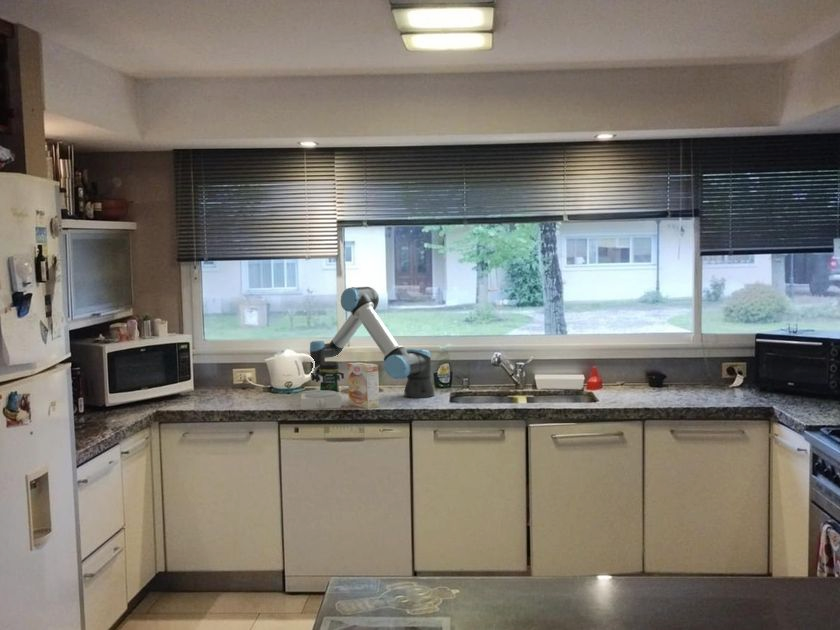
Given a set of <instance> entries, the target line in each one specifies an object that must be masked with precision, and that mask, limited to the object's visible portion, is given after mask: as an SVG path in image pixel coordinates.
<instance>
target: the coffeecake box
mask: <svg viewBox="0 0 840 630" xmlns="http://www.w3.org/2000/svg"><path fill="white" fill-rule="evenodd" d="M347 368H348V369H347V371H348V375H347V376H348V377H347V378H348V379H347V380H348V404H349V405H351V406H355V407H359V408H362V409H373V408H379V407H380V386H379V384H380V383H379V381H380V380H379V364H373V363H368V362H367V363H366V362H360V361H359V362H358V361H357V362H350V363H347Z"/></svg>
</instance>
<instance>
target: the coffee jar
mask: <svg viewBox="0 0 840 630" xmlns="http://www.w3.org/2000/svg"><path fill="white" fill-rule="evenodd" d="M339 371H340V367H339V362H338V361H331V360H329V361H328V360H327V361H326V360H325V362H321V363H320V367H319V372H320V374H321V376H322V377H323V382H320V386H319V388H320V389H319V390H329V391H335V392H340V387H339V380H338V372H339Z"/></svg>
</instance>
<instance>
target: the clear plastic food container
mask: <svg viewBox="0 0 840 630" xmlns="http://www.w3.org/2000/svg"><path fill="white" fill-rule="evenodd" d="M300 408H301V409H300V410H325V409H342V398H341V392H340V391H339V392H335V391H329V390H320V389H319V390H313V391H312V390H311V391H307V392H304V393H301V395H300Z"/></svg>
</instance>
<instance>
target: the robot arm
mask: <svg viewBox="0 0 840 630" xmlns="http://www.w3.org/2000/svg"><path fill="white" fill-rule="evenodd" d="M379 299H380V298H379V295H378V292H377V291H376V290H375V288H373V287H370V286H358V287H354V286H352V287H347V288H345V289H344V290H343V292H341V296H340V306H341V308H342V310H344V311H346V312H349V313H350V315H349V316H348V318H347V319H346V321H345V322H344V323H343V324H342V326H341V327H340V329H338V331H337V333H336V334H335V336H334V337H333V338H332V339H331V341H330V342H329V343H325V341H324V340H313V341H311V342H310V343H309V356H311V357H312V358H313V359H314V361H315V368H314V371H313V373H311V374H310V379H311V381H315V382H316V383H318V382H320V383H321V382H323V377H322V376H321V374H320V372H319V367H320V363H321V362H326V359H328V358H335V357H334V356H336V355H338V354H339V353H340V352H341V351H342V349H343V348H344V347H345V346H347V344H348V343H349V341H350V340H351V339H352V337H353V336H354V335H355V333H357V331H358V330H359V328H360V327H361V326H362V325H363V327H364V328H365V330H366V331H367V332H368V334H369V335H370V337H371V339H373V341H374V343H375V344H376V346H377V347H378V348H379V350H380V351H381V353H382V355H384V356H383V361H384V370H385V372H386V374H387V375H388V376H389V377H390V378H391V379H392V378H393V379H395V380H399V379H400V380H402V379H406V378H407V379H406V384H405V388H404V392H403V394H404V395H403V396H404V397H407V398H415V399H419V398H424V399H425V398H429V397H434V396H435V393H436V392H435V389H434V385H433V383H432V379H431V377H432V376H431V375H432V374H431V359H432V358H431V352H430V351H429V350H427V349H413V348H408V349H406V348H405V347H404V346H403V345H399V344H398V342H397V341H396V339H395V337H394V336H393V335H392V334H391V332H390V330H389V328H387V326H386V325H385V324H384V322H383V321H382V319H381V318H380V317H379V315H378V313H377V311H376V309H377V307H378V305H379V303H380V302H379ZM345 348H346V347H345ZM309 364H310V366H309V369H308V371H309V372H308V373H310V372H311V371H312V368H313V363H312V362H311V361H310V363H309ZM344 374H345V373H343V372H338V382H342V381H343V380H342V379H345V375H344Z"/></svg>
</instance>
